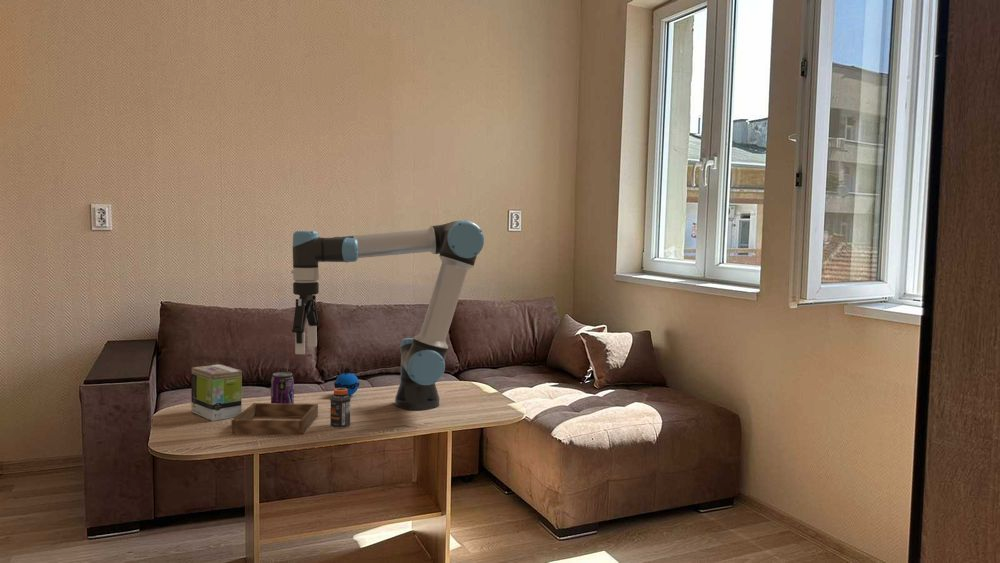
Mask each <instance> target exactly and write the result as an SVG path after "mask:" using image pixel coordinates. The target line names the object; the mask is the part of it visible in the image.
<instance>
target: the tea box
mask: <svg viewBox="0 0 1000 563" xmlns="http://www.w3.org/2000/svg"><path fill="white" fill-rule="evenodd" d="M242 374H243V372H242V370H241V369H238V368H234V367H231V366H228V365H224V364H220V363H219V364H212V365H210V364H209V365H201V366H193V367H191V377H190V378H191V396H190V398H191V402H190V405H191V406H190V407H191V413H194V414H196V415H197V416H200V417H202V418H205V419H207V420H210V421H212V422H215V421H220V420H221V421H222V420H227V419H232V418H233V419H234V418H235V417H237V416H238V415H239V414H241V413H242V412H243V411H242V410H243V409H242V407H243V405H242V402H243V400H242V397H243V396H242V391H243V389H242V388H243V385H242V383H243V375H242Z"/></svg>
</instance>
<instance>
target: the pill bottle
mask: <svg viewBox="0 0 1000 563" xmlns="http://www.w3.org/2000/svg"><path fill="white" fill-rule="evenodd" d="M347 393H348V392H347V389H346V388H334V389H333V395H332V396H331V397H330V416H329V417H330V419H329V420H330V424H329V425H330V427H332V428H335V429H345V428H348V427H350V426H351V411H352V410H351V408H352V406H351V401H352V400H351V395H350V396H348V395H347Z"/></svg>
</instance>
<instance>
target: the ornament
mask: <svg viewBox="0 0 1000 563" xmlns="http://www.w3.org/2000/svg"><path fill="white" fill-rule="evenodd" d="M350 371H351V370H350V368H348V367H346V368H345V369H344V372H342V373H340V374H339V375H338V376H337V378H336V379H335V381H334V384H333V385H334V389H336V388H346V389H347V392H348V393H347V395H348V396H350V397H351V396H352V395H354V394H355V393H357V391H358V389H359V386H360V381H359V378H358V377H357V375H356V374H354V373H351V372H350Z"/></svg>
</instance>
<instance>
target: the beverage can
mask: <svg viewBox="0 0 1000 563" xmlns="http://www.w3.org/2000/svg"><path fill="white" fill-rule="evenodd" d="M294 390H295V379H294V377H293V373H292V372H288V371H281V372H280V371H279V372H274V373H272V377H271V379H270V403H283V404H295V402H294V401H295V400H294V399H295V397H294V396H295V391H294Z"/></svg>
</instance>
